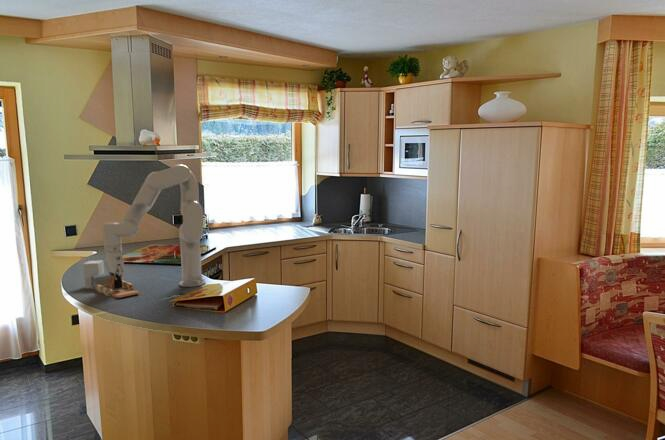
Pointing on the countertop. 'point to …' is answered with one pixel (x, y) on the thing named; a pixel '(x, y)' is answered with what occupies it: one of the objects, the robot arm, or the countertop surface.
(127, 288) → the truck bed
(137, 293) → the panel
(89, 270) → the supplement box
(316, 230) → the countertop surface
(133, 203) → the robot arm
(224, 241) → the countertop surface
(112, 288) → the block
